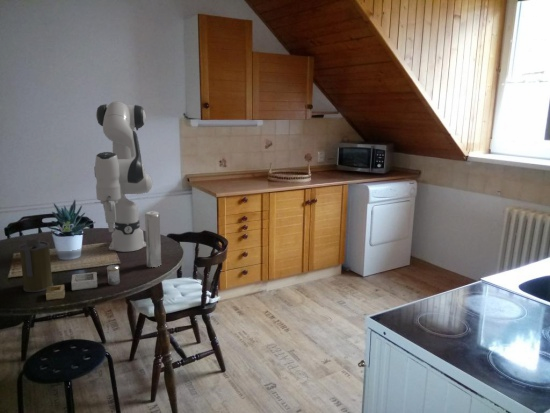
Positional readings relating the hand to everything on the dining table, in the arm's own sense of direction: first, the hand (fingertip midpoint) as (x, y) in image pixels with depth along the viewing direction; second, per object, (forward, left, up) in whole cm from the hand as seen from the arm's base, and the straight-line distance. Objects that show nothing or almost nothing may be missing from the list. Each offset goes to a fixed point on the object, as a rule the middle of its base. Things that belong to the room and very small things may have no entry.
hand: (110, 228), depth 169 cm
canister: (-5, -28, -24) cm, 37 cm away
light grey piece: (-15, +18, -24) cm, 33 cm away
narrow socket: (+6, -21, -23) cm, 32 cm away
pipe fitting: (0, 0, -23) cm, 23 cm away
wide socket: (-2, -11, -23) cm, 26 cm away
